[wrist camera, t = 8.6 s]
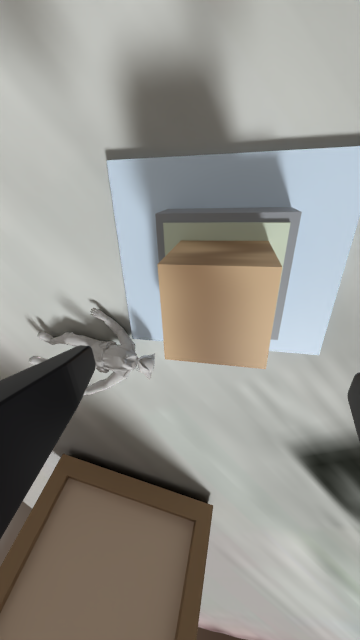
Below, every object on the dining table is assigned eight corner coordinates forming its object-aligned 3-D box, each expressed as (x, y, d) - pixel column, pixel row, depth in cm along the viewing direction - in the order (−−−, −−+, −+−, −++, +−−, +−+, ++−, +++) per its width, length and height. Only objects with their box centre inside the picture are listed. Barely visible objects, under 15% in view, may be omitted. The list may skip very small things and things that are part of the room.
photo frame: (67, 447, 36) (-186, 844, 14) (213, 497, 34) (172, 1017, 13) (69, 494, 43) (-94, 798, 22) (188, 537, 42) (137, 903, 21)
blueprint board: (375, 146, 14) (380, 144, 13) (317, 350, 21) (318, 355, 20) (110, 160, 17) (106, 160, 16) (134, 335, 24) (132, 338, 23)
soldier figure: (47, 303, 25) (135, 306, 19) (85, 317, 29) (169, 324, 23) (20, 380, 24) (107, 412, 17) (64, 384, 28) (149, 412, 21)
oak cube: (268, 240, 14) (282, 267, 10) (258, 319, 16) (265, 369, 12) (180, 240, 15) (157, 264, 11) (183, 315, 17) (164, 359, 13)
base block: (291, 206, 16) (302, 212, 13) (272, 319, 19) (278, 341, 17) (167, 208, 17) (154, 214, 14) (172, 312, 21) (163, 332, 18)
